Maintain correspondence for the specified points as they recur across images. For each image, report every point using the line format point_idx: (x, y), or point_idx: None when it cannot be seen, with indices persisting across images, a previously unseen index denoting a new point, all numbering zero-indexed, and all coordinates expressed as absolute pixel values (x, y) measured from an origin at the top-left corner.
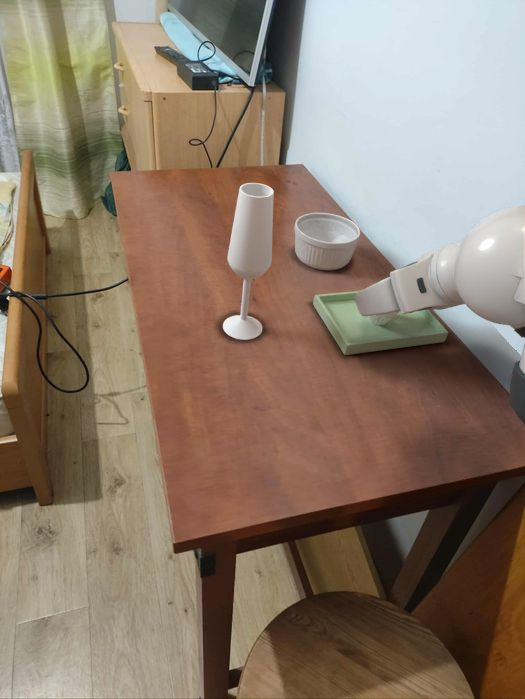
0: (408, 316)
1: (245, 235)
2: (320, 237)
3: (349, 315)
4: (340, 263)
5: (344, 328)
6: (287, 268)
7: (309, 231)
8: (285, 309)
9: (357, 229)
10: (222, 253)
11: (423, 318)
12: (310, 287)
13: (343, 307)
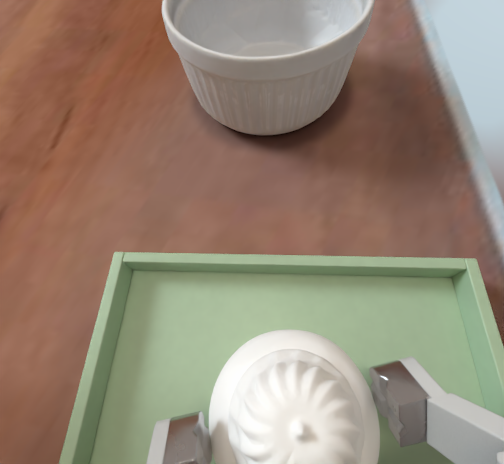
0: None
1: None
2: (283, 29)
3: (196, 354)
4: (283, 122)
5: (137, 427)
6: (158, 118)
7: (251, 10)
8: (43, 272)
9: (367, 2)
10: (52, 63)
11: None
12: (170, 192)
13: (200, 306)
